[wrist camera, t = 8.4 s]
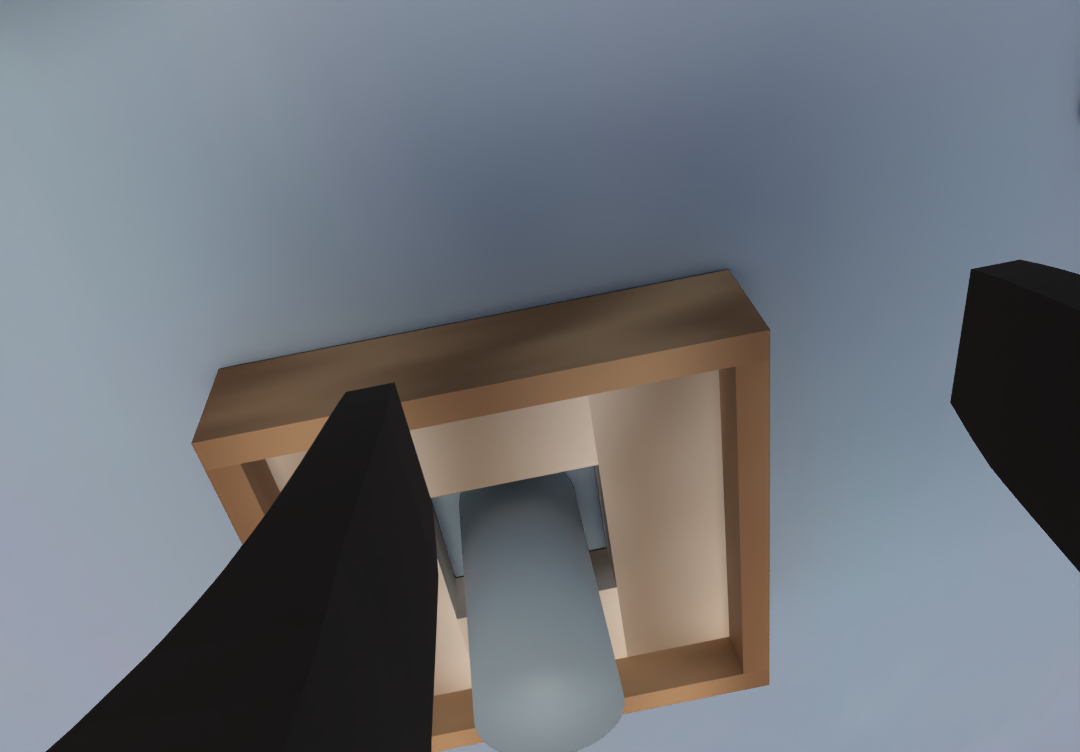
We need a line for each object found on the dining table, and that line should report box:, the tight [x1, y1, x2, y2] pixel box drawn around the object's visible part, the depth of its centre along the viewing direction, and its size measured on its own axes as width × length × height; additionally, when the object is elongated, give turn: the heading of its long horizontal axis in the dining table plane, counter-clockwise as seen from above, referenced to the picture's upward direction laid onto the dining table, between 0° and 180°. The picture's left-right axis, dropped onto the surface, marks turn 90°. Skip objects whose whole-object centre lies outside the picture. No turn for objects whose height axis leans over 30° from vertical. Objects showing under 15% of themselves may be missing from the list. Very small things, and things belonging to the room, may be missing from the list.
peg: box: [459, 472, 625, 752], centre depth 22 cm, size 3×3×7 cm
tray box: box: [191, 270, 770, 752], centre depth 23 cm, size 13×13×3 cm
